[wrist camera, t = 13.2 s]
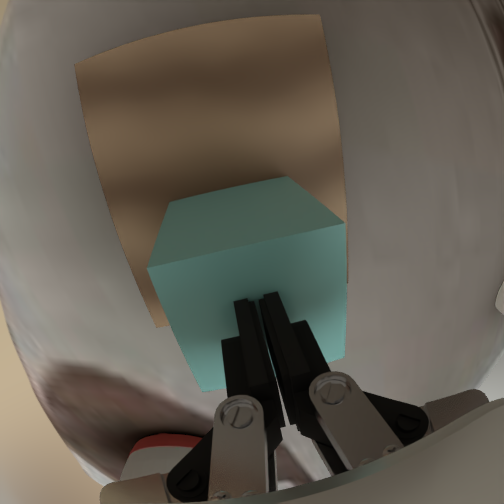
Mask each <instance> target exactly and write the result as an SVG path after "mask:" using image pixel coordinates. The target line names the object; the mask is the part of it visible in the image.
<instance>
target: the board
mask: <svg viewBox="0 0 504 504" xmlns="http://www.w3.org/2000/svg"><path fill="white" fill-rule="evenodd" d="M74 65H75V72H76V78H77V84H78V90H79V95H80V100H81V105H82V110H83V115H84V120H85V124H86V129H87V133H88V137H89V141H90V145H91V149H92V153H93V157H94V161H95V164H96V168H97V171H98V175H99V178H100V182H101V185H102V188H103V192H104V195H105V198H106V201H107V204H108V207H109V210H110V213H111V216H112V219H113V222H114V225H115V228H116V231H117V234H118V236H119V239H120V242H121V245H122V247H123V250H124V253H125V255H126V258H127V260H128V263H129V265H130V268H131V270H132V273H133V275H134V278H135V280H136V283H137V285H138V287H139V290H140V292H141V294H142V297H143V299H144V301H145V304H146V306H147V308H148V310H149V312H150V315H151V317H152V319H153V321H154V323H155V325H156V328H158V327H163V326H169V325H170V324H169V322H168V319H167V317H166V315H165V312H164V310H163V308H162V305H161V303H160V300H159V298H158V296H157V293H156V291H155V288H154V286H153V283H152V281H151V278H150V276H149V273H148V270H147V266H148V263H149V259H150V256H151V253H152V250H153V247H154V244H155V241H156V239H157V236H158V233H159V230H160V227H161V224H162V221H163V219H164V216H165V213H166V210H167V208H168V205H169V202H172V201H176V200H180V199H184V198H188V197H192V196H196V195H200V194H204V193H209V192H213V191H217V190H222V189H226V188H231V187H235V186H240V185H245V184H250V183H254V182H259V181H264V180H269V179H275V178H280V177H285V176H288V177H289V178H291V179H292V180H293V181H294V182H296V183H297V184H298V185H300V186H301V187H302V188H303V189H305V190H306V191H307V192H308V193H310V194H311V195H312V196H313V197H315V198H316V199H317V200H318V201H320V202H321V203H322V204H323V205H324V206H326V207H327V208H328V209H329V210H330V211H332V212H333V213H334V214H335V215H336V216H338V217H339V218H340V219H341V220H342V221H344V222H345V224H346V257H347V283H348V233H347V209H346V192H345V178H344V166H343V155H342V145H341V136H340V127H339V119H338V112H337V104H336V98H335V91H334V85H333V78H332V73H331V67H330V61H329V56H328V51H327V46H326V41H325V36H324V31H323V27H322V22H321V18H320V15H274V16H260V17H249V18H240V19H232V20H225V21H218V22H212V23H206V24H201V25H196V26H191V27H186V28H181V29H177V30H173V31H169V32H165V33H161V34H157V35H154V36H150V37H147V38H143V39H140V40H137V41H134V42H131V43H128V44H125V45H122V46H119V47H116V48H113V49H111V50H108V51H105V52H103V53H100V54H98V55H95V56H93V57H90V58H88V59H85V60H83V61H81V62H79V63H76V64H74Z"/></svg>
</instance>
